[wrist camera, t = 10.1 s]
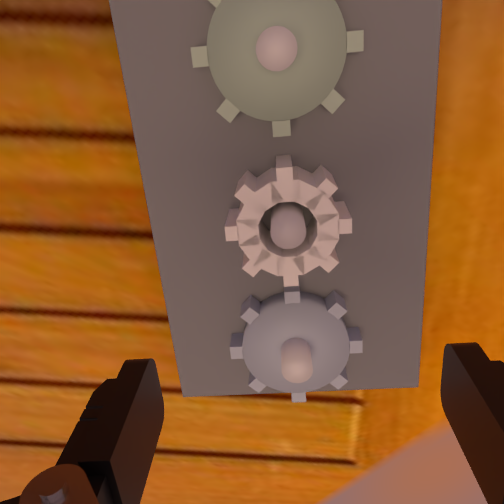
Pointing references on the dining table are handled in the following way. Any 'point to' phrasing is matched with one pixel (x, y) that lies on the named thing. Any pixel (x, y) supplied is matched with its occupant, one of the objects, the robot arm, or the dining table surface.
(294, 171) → the gear
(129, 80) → the gear board
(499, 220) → the dining table surface
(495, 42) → the dining table surface
